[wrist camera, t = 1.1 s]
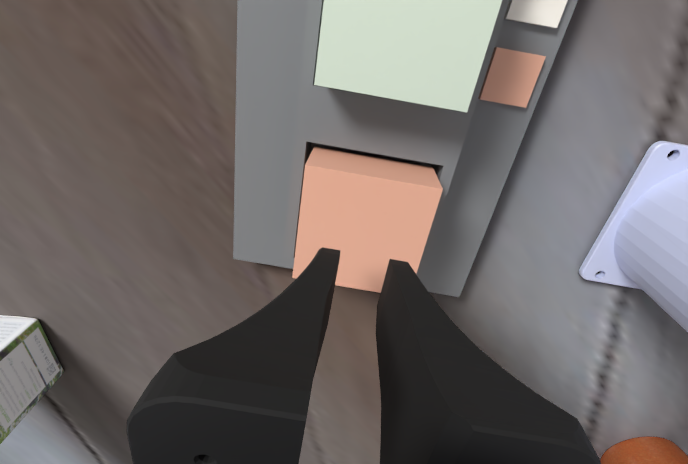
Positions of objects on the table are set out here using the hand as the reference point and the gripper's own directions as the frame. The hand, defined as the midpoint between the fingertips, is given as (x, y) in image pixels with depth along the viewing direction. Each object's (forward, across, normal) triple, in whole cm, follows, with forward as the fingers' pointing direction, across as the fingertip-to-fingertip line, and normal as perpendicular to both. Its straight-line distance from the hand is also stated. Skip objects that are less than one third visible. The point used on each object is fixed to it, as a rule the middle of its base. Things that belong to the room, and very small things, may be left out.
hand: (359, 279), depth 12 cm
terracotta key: (+5, 0, 0) cm, 5 cm away
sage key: (+5, 0, -8) cm, 10 cm away
